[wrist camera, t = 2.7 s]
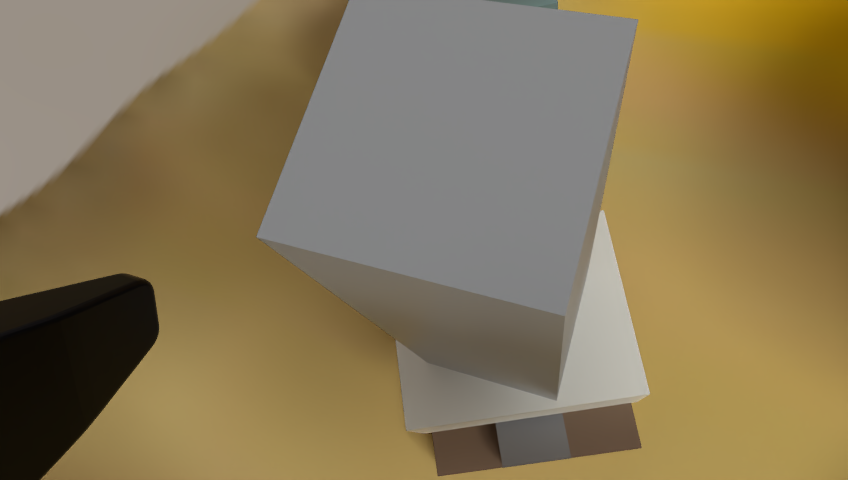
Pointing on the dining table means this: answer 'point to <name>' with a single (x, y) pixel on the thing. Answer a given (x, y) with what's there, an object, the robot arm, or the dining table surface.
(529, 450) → the rail bed
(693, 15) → the dining table surface
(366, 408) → the dining table surface
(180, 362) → the dining table surface
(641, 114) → the dining table surface
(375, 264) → the carriage
